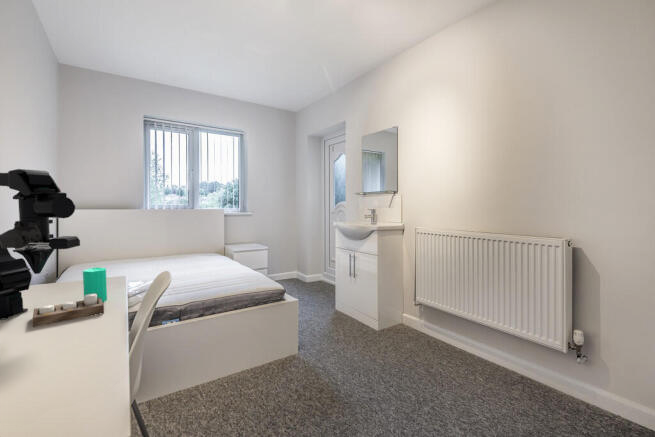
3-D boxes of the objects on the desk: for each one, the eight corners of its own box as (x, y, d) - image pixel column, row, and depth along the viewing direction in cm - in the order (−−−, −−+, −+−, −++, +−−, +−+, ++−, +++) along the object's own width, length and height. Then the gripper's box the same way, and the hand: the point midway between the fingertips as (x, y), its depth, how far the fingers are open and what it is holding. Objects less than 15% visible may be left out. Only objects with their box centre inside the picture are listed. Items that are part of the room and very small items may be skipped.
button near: (39, 321, 81) (39, 310, 81) (39, 318, 83) (39, 306, 83) (54, 318, 83) (54, 307, 83) (54, 315, 85) (54, 304, 85)
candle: (94, 305, 94) (93, 267, 93) (79, 303, 96) (77, 266, 95) (111, 298, 100) (110, 263, 99) (96, 296, 102) (95, 262, 101)
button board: (33, 327, 78) (32, 317, 78) (34, 317, 84) (33, 308, 84) (104, 313, 89) (103, 304, 88) (100, 305, 94) (100, 297, 94)
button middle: (63, 317, 84) (62, 306, 84) (62, 313, 87) (62, 302, 86) (77, 314, 86) (76, 303, 86) (76, 311, 89) (76, 300, 88)
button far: (84, 308, 87) (84, 297, 87) (84, 305, 90) (83, 294, 89) (97, 306, 89) (97, 295, 89) (96, 303, 92) (96, 292, 91)
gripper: (-38, 218, 72) (-33, 282, 73) (49, 220, 74) (52, 281, 75) (6, 215, 83) (9, 270, 84) (80, 216, 85) (82, 270, 86)
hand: (37, 273), depth 82 cm, fingers closed
